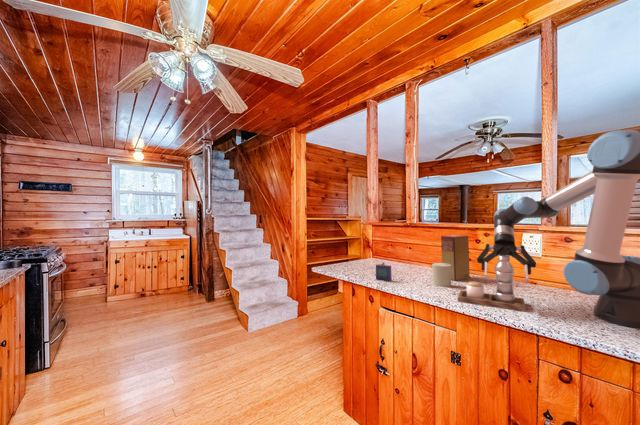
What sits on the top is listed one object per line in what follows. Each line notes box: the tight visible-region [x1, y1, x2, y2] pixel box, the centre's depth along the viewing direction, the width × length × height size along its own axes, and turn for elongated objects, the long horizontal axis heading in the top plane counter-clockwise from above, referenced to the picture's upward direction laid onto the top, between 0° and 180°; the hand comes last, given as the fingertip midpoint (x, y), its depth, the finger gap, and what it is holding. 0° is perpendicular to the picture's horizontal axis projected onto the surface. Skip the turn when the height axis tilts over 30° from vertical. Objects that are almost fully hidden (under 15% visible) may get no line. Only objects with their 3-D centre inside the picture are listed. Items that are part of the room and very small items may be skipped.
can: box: [431, 262, 452, 288], centre depth 140 cm, size 9×9×12 cm
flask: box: [375, 261, 393, 282], centre depth 155 cm, size 9×3×11 cm, turn 61°
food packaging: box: [440, 234, 471, 282], centre depth 156 cm, size 13×9×25 cm
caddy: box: [457, 289, 527, 312], centre depth 112 cm, size 23×11×3 cm, turn 56°
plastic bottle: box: [494, 255, 516, 304], centre depth 109 cm, size 6×7×20 cm
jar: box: [466, 280, 485, 300], centre depth 115 cm, size 6×6×7 cm
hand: (505, 278), depth 107 cm, fingers open, 13 cm apart
